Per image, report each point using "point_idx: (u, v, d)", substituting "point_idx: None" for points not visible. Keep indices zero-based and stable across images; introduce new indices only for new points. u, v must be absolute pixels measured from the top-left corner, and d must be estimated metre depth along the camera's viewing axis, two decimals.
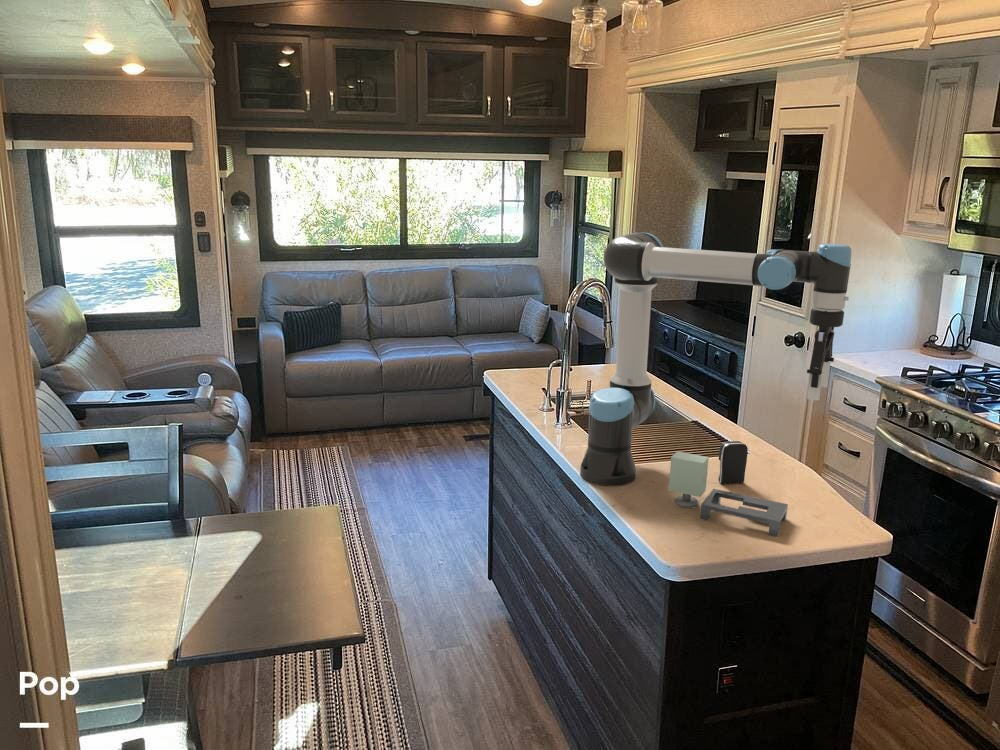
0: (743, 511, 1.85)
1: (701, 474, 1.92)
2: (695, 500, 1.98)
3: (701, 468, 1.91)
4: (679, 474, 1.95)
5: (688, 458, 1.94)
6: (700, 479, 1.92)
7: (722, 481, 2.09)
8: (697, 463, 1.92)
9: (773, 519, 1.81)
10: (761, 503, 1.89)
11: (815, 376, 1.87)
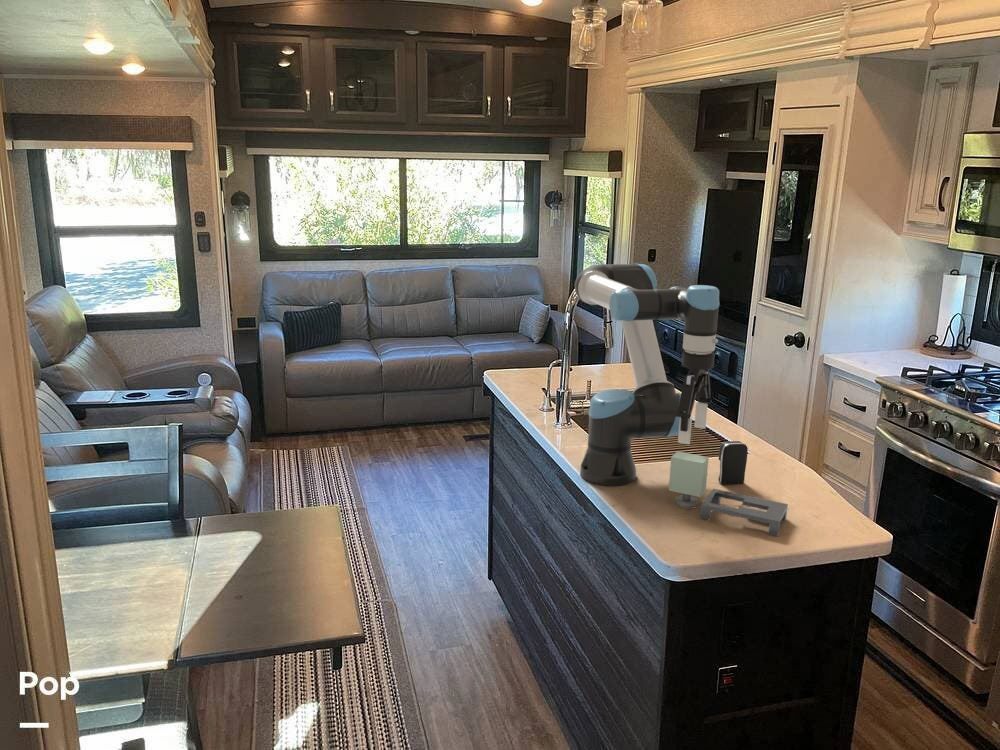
0: (743, 511, 1.85)
1: (701, 474, 1.92)
2: (695, 500, 1.98)
3: (701, 468, 1.91)
4: (679, 474, 1.95)
5: (688, 458, 1.94)
6: (700, 479, 1.92)
7: (722, 481, 2.09)
8: (697, 463, 1.92)
9: (773, 519, 1.81)
10: (761, 503, 1.89)
11: (684, 420, 1.84)
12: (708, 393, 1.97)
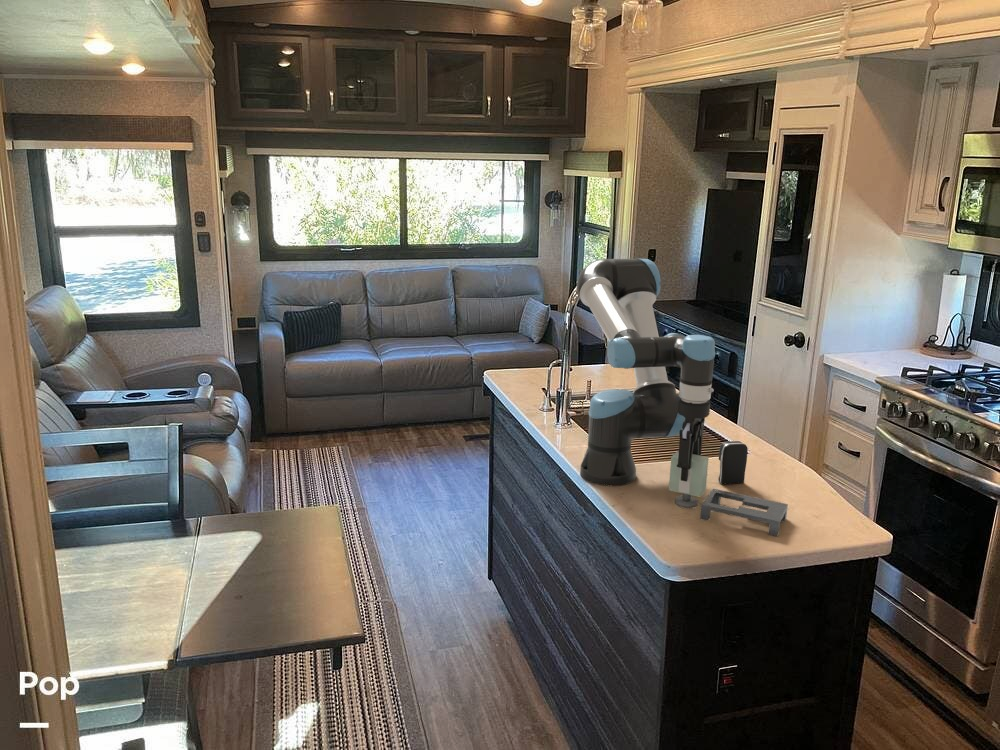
0: (743, 511, 1.85)
1: (701, 474, 1.92)
2: (695, 500, 1.97)
3: (701, 468, 1.91)
4: (679, 474, 1.95)
5: None
6: (700, 479, 1.92)
7: (722, 481, 2.09)
8: (697, 463, 1.92)
9: (773, 519, 1.81)
10: (761, 503, 1.89)
11: (684, 470, 1.92)
12: (699, 448, 1.98)
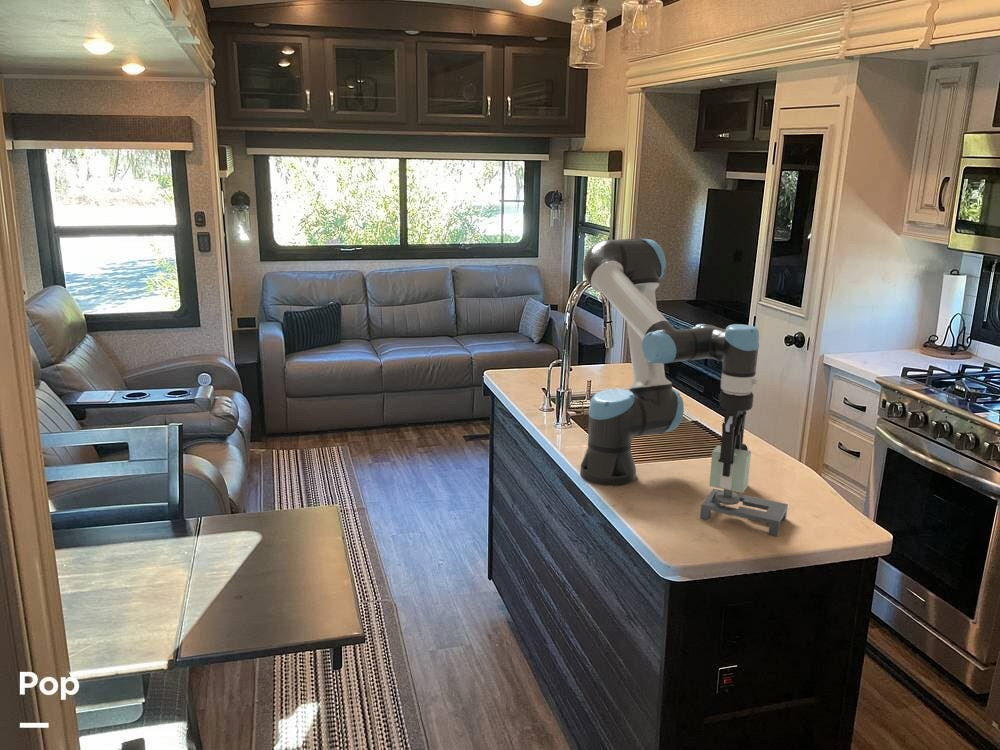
0: (743, 511, 1.85)
1: (744, 469, 1.84)
2: (737, 496, 1.90)
3: (744, 463, 1.84)
4: None
5: None
6: (743, 474, 1.85)
7: None
8: (740, 457, 1.84)
9: (773, 519, 1.81)
10: (761, 503, 1.89)
11: (726, 465, 1.84)
12: (741, 443, 1.91)
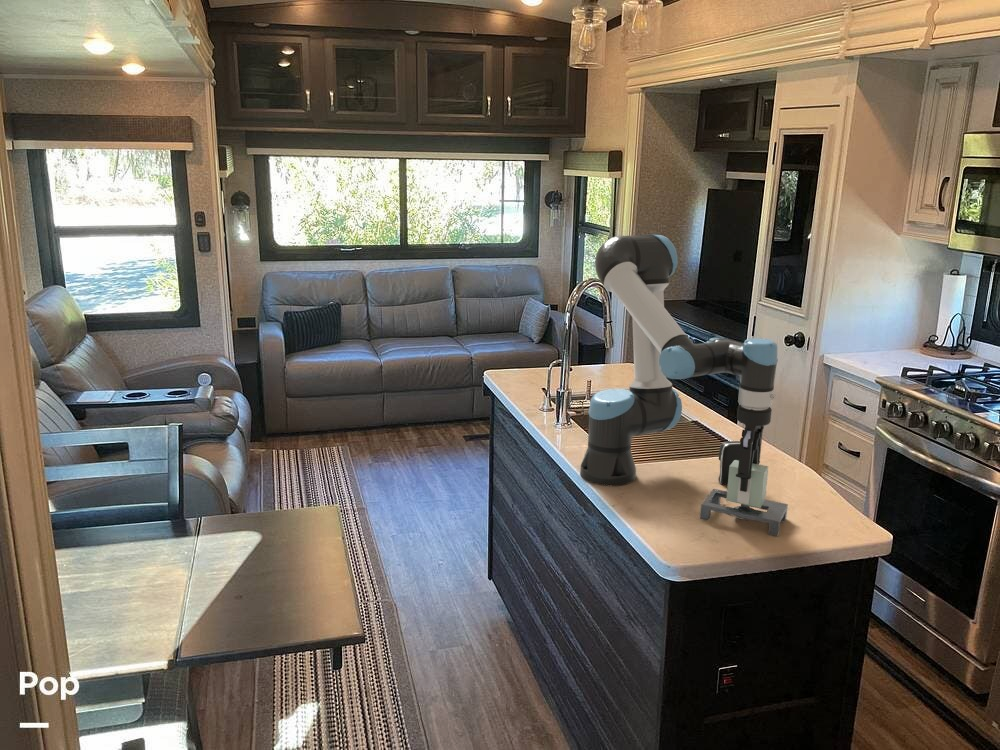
0: (743, 511, 1.85)
1: (762, 484, 1.83)
2: None
3: (762, 478, 1.83)
4: (738, 484, 1.86)
5: None
6: (760, 489, 1.83)
7: (722, 481, 2.09)
8: (757, 472, 1.83)
9: (773, 519, 1.81)
10: None
11: (744, 480, 1.83)
12: (758, 457, 1.89)
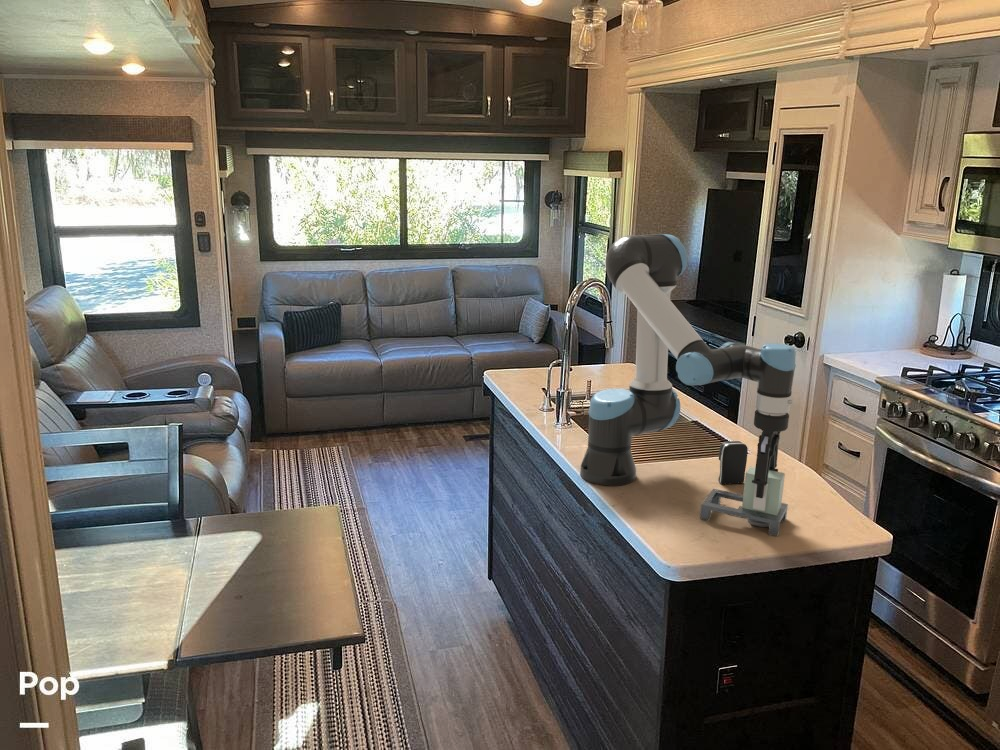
0: (743, 511, 1.85)
1: (778, 491, 1.82)
2: None
3: (778, 485, 1.81)
4: None
5: None
6: (777, 496, 1.82)
7: (722, 481, 2.09)
8: (774, 480, 1.81)
9: (773, 519, 1.81)
10: None
11: (760, 487, 1.81)
12: (775, 461, 1.88)
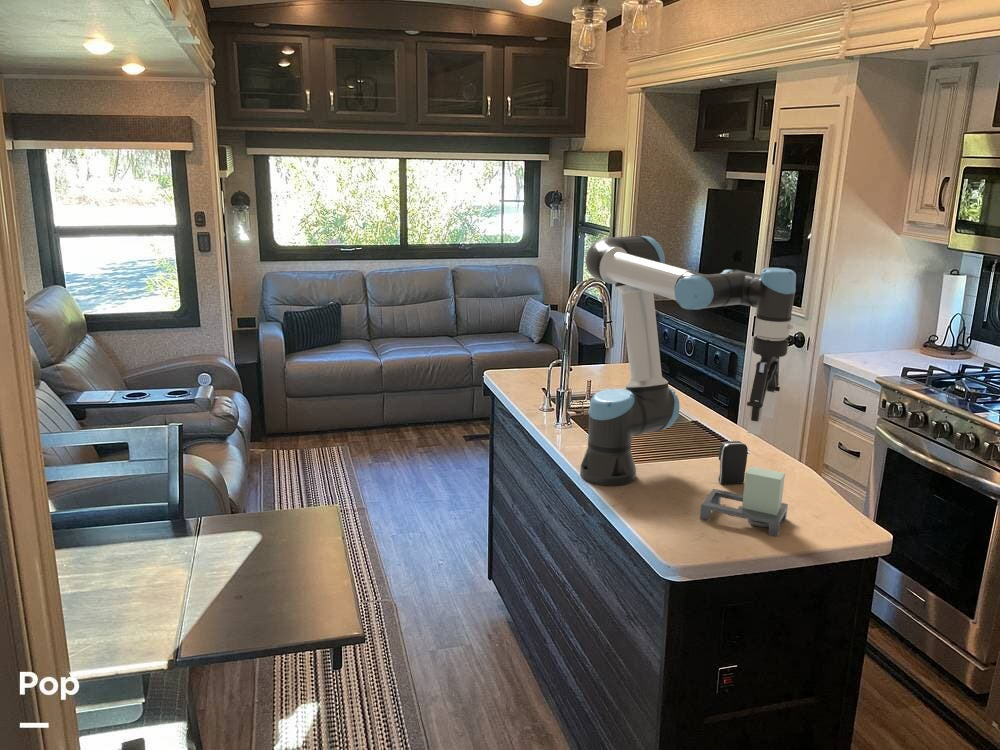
0: (743, 511, 1.85)
1: (778, 491, 1.82)
2: None
3: (778, 485, 1.81)
4: (754, 491, 1.84)
5: (764, 474, 1.83)
6: (777, 496, 1.82)
7: (722, 481, 2.09)
8: (774, 480, 1.81)
9: (773, 519, 1.81)
10: None
11: (755, 409, 1.76)
12: (776, 381, 1.89)
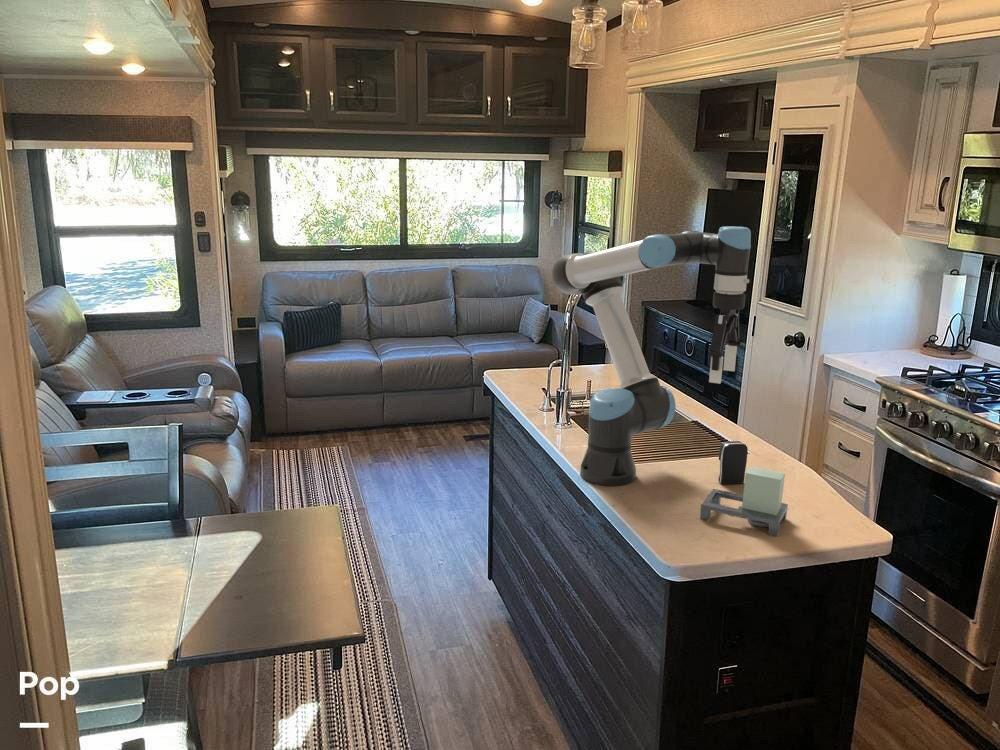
0: (743, 511, 1.85)
1: (778, 491, 1.82)
2: None
3: (778, 485, 1.81)
4: (754, 491, 1.84)
5: (764, 474, 1.83)
6: (777, 496, 1.82)
7: (722, 481, 2.09)
8: (774, 480, 1.81)
9: (773, 519, 1.81)
10: None
11: (715, 359, 1.87)
12: (737, 336, 2.00)
